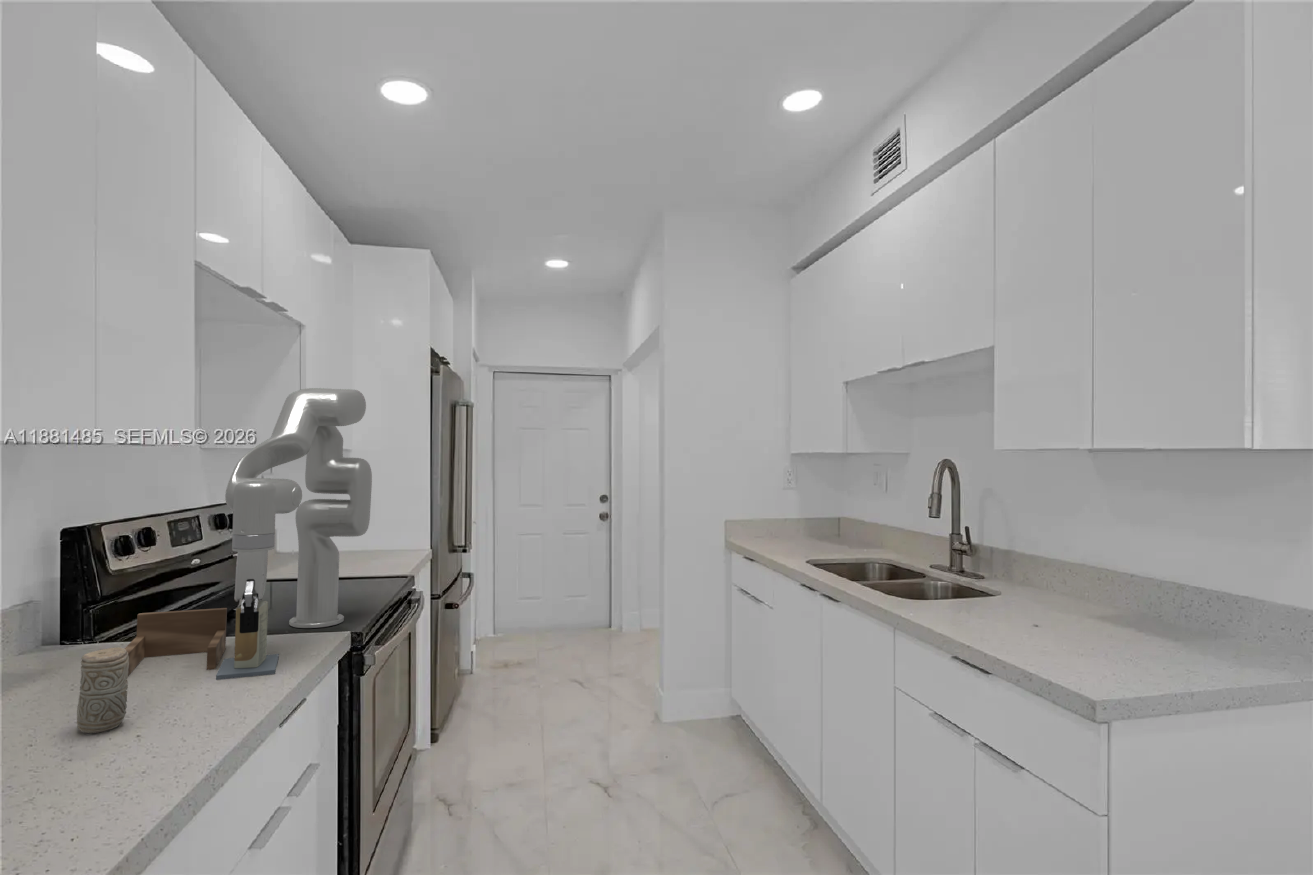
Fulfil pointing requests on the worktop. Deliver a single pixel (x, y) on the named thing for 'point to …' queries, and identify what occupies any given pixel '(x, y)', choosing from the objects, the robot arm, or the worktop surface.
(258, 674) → the slate pad
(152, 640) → the shelf bay
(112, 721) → the carving
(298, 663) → the worktop surface
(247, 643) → the skincare box
